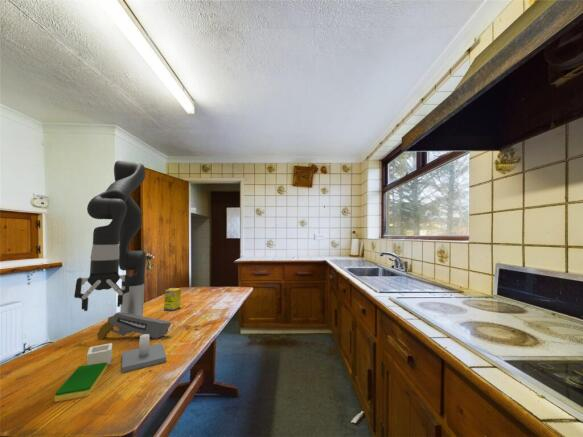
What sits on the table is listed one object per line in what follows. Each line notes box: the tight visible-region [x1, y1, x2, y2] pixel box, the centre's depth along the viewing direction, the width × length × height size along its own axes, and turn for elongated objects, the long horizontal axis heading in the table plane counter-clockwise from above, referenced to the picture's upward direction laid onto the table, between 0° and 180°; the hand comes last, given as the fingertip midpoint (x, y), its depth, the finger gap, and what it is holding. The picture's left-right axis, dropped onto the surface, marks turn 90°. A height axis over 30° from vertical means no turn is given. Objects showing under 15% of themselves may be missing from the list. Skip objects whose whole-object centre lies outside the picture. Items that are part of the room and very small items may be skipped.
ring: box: [86, 342, 113, 366], centre depth 80 cm, size 6×6×4 cm
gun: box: [96, 311, 172, 340], centre depth 100 cm, size 3×25×15 cm, turn 95°
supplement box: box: [163, 287, 182, 312], centre depth 137 cm, size 6×6×11 cm
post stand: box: [121, 334, 167, 374], centre depth 83 cm, size 12×12×8 cm
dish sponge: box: [54, 362, 108, 402], centre depth 69 cm, size 7×14×2 cm, turn 21°
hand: (102, 308), depth 81 cm, fingers open, 8 cm apart
